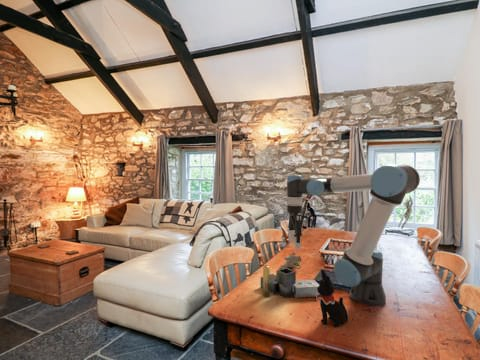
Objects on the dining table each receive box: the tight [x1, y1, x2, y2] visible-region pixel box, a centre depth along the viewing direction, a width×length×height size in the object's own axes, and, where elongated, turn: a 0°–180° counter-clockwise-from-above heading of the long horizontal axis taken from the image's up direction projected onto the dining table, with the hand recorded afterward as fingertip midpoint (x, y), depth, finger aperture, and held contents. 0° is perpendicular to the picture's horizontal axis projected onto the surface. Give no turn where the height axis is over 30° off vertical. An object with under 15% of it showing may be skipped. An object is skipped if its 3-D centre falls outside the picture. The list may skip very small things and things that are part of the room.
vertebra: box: [280, 252, 302, 271], centre depth 171 cm, size 20×11×10 cm, turn 140°
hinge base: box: [260, 267, 297, 299], centre depth 139 cm, size 17×8×12 cm, turn 37°
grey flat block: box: [293, 279, 319, 298], centre depth 136 cm, size 12×8×5 cm, turn 97°
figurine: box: [315, 268, 349, 328], centre depth 111 cm, size 8×13×20 cm, turn 95°
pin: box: [262, 264, 270, 298], centre depth 134 cm, size 3×3×14 cm
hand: (294, 245), depth 148 cm, fingers open, 13 cm apart
